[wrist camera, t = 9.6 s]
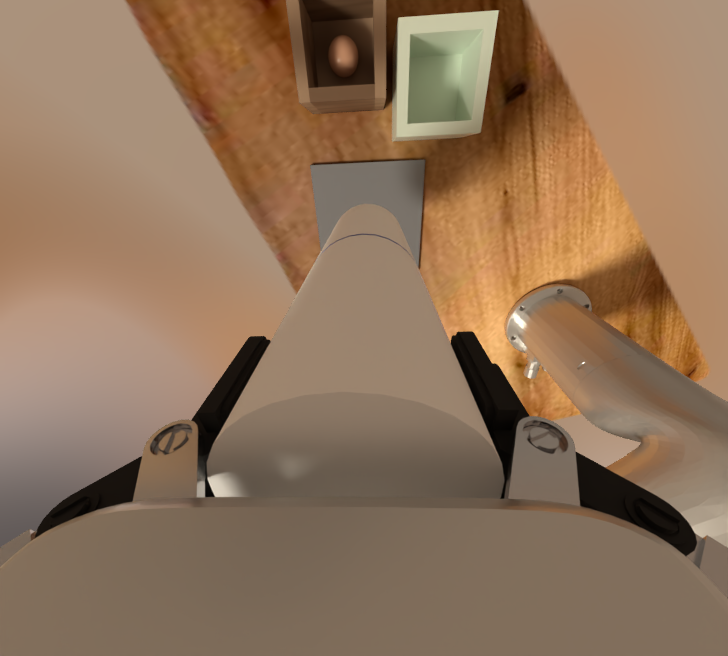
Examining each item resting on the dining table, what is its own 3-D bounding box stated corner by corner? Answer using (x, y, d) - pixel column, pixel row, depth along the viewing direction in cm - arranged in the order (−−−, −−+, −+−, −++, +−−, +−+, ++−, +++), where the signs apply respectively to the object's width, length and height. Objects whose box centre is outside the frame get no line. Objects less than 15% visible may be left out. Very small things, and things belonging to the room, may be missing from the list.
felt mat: (417, 270, 40) (418, 271, 40) (324, 273, 41) (323, 274, 41) (424, 159, 33) (425, 159, 33) (310, 165, 34) (310, 165, 33)
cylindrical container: (376, 187, 25) (402, 324, 4) (415, 249, 28) (545, 518, 7) (318, 233, 28) (143, 472, 6) (360, 286, 31) (333, 571, 9)
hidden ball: (359, 80, 29) (358, 72, 26) (331, 81, 29) (327, 74, 26) (358, 40, 27) (356, 27, 25) (328, 42, 27) (324, 30, 25)
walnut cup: (383, 109, 31) (386, 97, 25) (313, 113, 31) (299, 102, 25) (382, 5, 27) (386, -39, 21) (301, 11, 27) (282, -31, 21)
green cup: (460, 137, 32) (480, 132, 26) (391, 141, 32) (396, 137, 26) (471, 42, 28) (498, 10, 22) (392, 47, 28) (398, 17, 22)
